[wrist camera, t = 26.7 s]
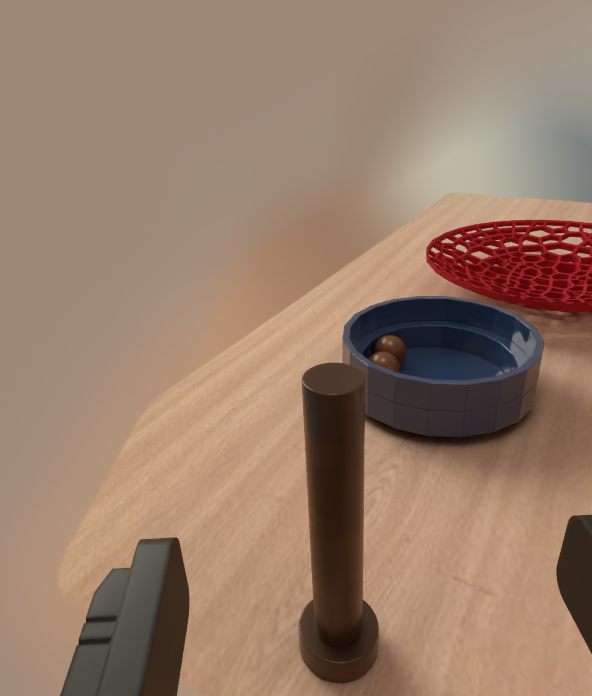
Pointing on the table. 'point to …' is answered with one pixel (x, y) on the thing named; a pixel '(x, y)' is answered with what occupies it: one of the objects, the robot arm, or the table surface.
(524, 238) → the bowl
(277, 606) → the table surface
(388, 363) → the hazelnut
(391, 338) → the hazelnut
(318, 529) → the capped post on base
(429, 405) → the blue bowl
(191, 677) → the table surface
